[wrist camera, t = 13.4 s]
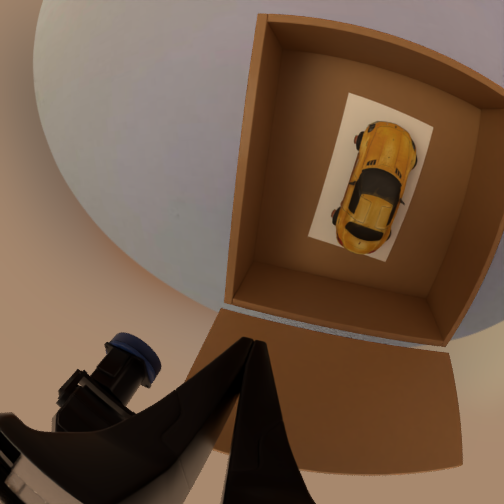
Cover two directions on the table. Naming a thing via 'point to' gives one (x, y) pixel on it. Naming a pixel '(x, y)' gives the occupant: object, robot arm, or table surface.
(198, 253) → the table surface
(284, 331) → the flap
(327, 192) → the toy car
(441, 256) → the carton
